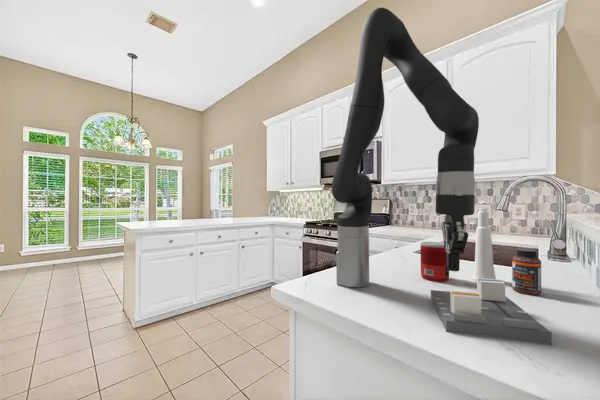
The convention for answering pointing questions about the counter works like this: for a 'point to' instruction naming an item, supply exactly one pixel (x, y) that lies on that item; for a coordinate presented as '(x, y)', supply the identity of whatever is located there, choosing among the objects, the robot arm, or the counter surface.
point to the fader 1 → (465, 302)
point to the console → (491, 320)
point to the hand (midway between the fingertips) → (452, 270)
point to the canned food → (434, 261)
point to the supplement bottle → (526, 272)
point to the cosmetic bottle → (483, 248)
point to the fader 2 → (491, 289)
